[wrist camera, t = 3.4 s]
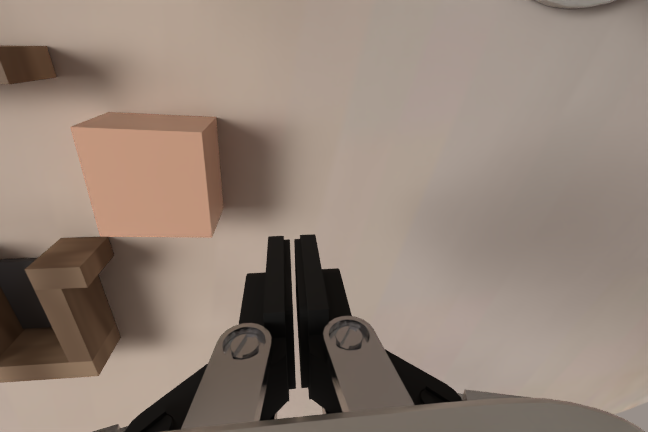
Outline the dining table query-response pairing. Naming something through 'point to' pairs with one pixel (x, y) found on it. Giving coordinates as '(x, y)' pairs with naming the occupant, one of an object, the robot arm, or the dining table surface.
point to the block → (151, 174)
